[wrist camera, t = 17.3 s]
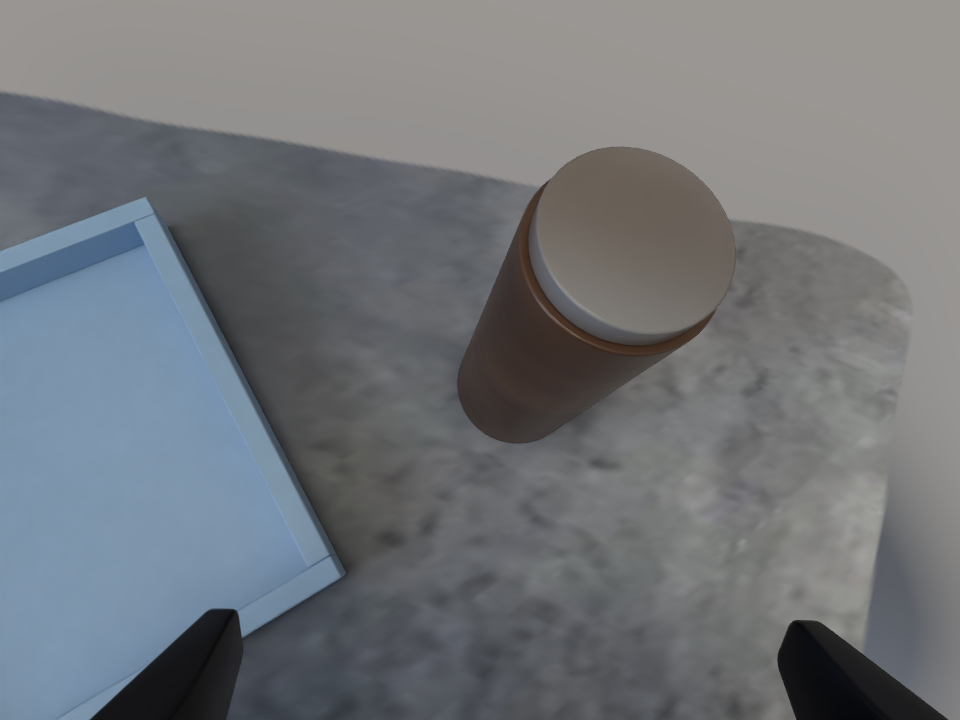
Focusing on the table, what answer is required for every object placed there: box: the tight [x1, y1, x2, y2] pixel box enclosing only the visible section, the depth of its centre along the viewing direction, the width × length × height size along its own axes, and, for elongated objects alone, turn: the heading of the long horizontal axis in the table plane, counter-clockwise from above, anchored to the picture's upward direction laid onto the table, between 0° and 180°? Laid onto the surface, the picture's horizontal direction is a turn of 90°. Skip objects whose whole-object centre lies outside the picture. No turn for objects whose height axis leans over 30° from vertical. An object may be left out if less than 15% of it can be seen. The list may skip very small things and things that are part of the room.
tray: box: [0, 197, 346, 720], centre depth 19 cm, size 16×14×2 cm
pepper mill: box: [458, 147, 736, 443], centre depth 18 cm, size 5×5×12 cm
